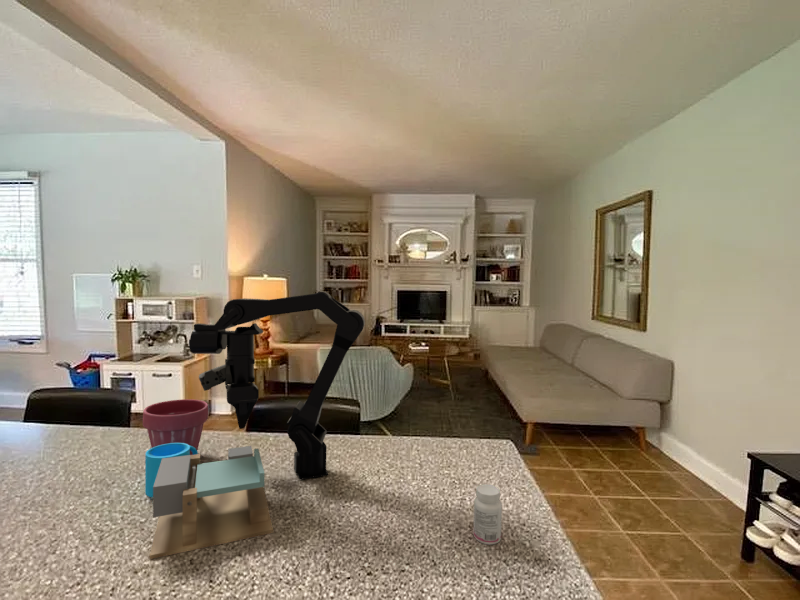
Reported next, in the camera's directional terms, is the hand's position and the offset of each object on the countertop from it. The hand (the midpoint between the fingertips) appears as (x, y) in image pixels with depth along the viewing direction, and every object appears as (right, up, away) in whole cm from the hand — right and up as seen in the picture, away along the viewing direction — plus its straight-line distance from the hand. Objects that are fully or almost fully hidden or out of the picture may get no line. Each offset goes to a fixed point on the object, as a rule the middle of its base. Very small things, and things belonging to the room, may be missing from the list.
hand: (240, 422), depth 95 cm
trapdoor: (+2, -7, -18) cm, 20 cm away
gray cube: (0, -12, +1) cm, 12 cm away
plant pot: (-19, -11, +8) cm, 23 cm away
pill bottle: (+51, -14, -23) cm, 58 cm away
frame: (+2, -12, -18) cm, 22 cm away
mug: (-12, -12, -6) cm, 18 cm away
